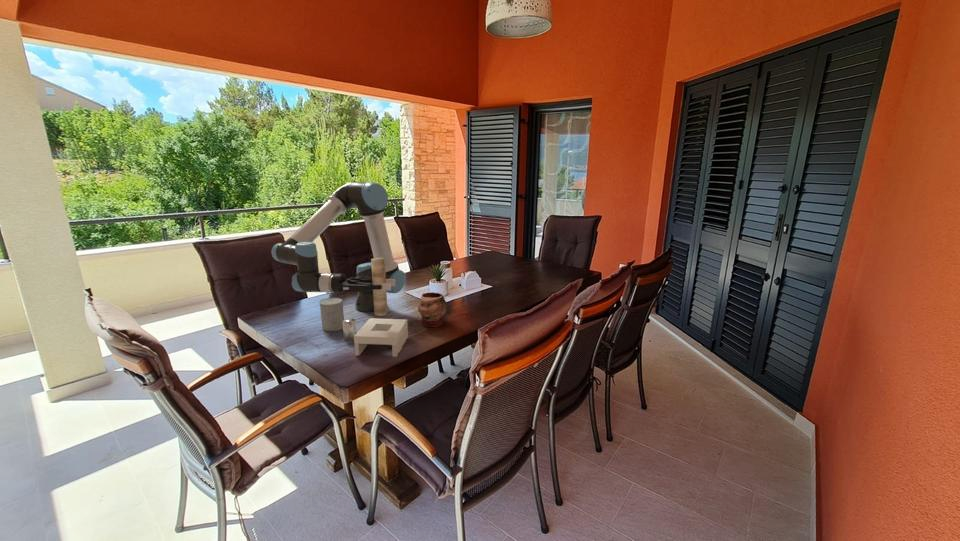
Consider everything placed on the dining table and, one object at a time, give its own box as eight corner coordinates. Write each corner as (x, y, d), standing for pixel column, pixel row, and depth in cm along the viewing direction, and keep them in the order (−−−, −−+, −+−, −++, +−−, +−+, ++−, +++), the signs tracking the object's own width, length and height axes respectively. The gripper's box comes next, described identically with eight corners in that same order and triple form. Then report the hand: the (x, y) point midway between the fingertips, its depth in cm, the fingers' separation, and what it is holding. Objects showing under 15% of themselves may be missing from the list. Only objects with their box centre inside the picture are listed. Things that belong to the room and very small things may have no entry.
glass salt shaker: (346, 335, 164) (345, 318, 162) (358, 335, 163) (356, 318, 161) (341, 340, 159) (340, 322, 157) (353, 340, 159) (352, 322, 157)
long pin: (376, 310, 153) (373, 257, 148) (389, 311, 153) (386, 257, 148) (372, 315, 149) (369, 260, 143) (385, 315, 148) (382, 260, 143)
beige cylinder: (349, 324, 175) (347, 299, 172) (335, 332, 167) (332, 305, 163) (332, 321, 178) (329, 296, 175) (317, 329, 170) (314, 303, 166)
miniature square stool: (371, 335, 164) (369, 318, 162) (407, 337, 163) (407, 319, 161) (355, 355, 146) (353, 336, 144) (396, 356, 145) (395, 337, 143)
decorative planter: (428, 313, 189) (427, 286, 186) (452, 315, 187) (451, 288, 183) (413, 329, 170) (412, 300, 167) (439, 332, 168) (439, 302, 165)
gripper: (344, 285, 159) (399, 287, 157) (324, 299, 141) (386, 301, 140) (342, 268, 157) (398, 269, 155) (322, 280, 139) (385, 281, 138)
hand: (392, 284), depth 148 cm, fingers closed on long pin, 5 cm apart
